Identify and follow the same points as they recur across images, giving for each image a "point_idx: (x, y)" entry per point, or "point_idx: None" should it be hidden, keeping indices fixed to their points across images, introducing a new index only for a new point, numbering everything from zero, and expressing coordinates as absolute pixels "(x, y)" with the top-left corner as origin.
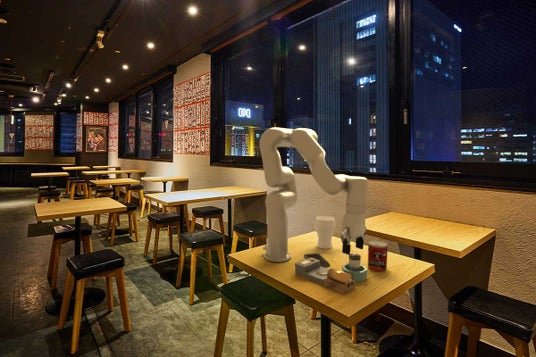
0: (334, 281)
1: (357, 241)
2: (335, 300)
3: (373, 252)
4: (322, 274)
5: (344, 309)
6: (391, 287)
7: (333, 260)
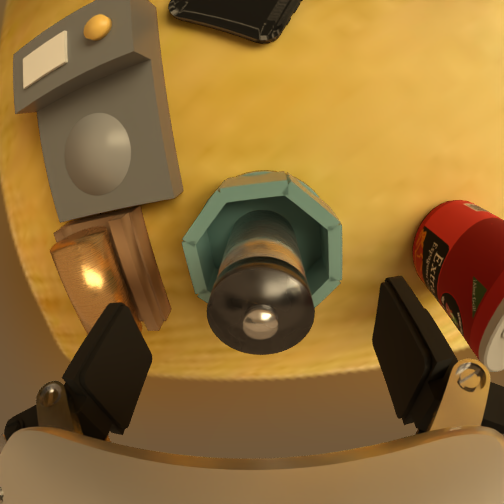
0: None
1: (406, 353)
2: (65, 312)
3: (463, 307)
4: (82, 172)
5: (70, 347)
6: (300, 371)
7: (368, 6)
